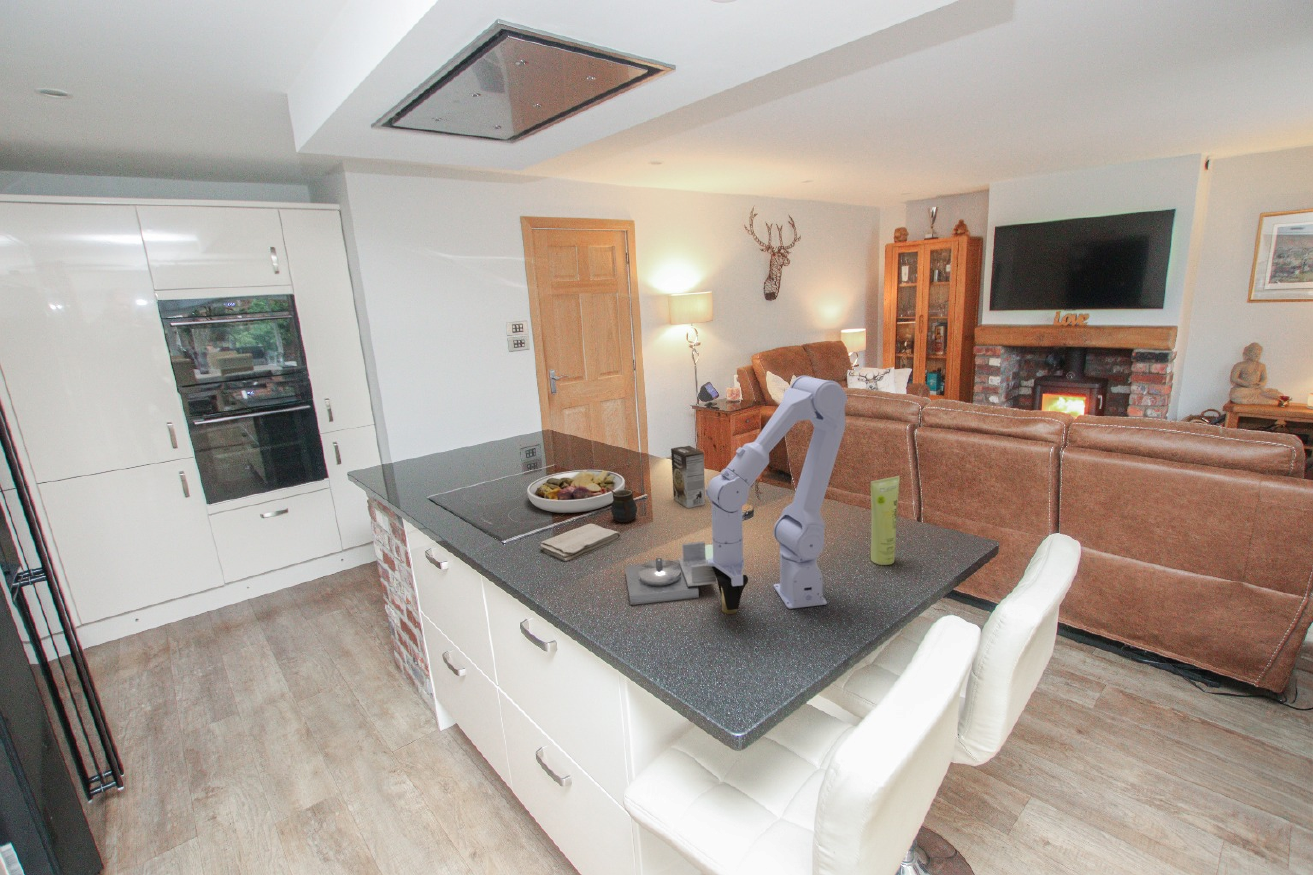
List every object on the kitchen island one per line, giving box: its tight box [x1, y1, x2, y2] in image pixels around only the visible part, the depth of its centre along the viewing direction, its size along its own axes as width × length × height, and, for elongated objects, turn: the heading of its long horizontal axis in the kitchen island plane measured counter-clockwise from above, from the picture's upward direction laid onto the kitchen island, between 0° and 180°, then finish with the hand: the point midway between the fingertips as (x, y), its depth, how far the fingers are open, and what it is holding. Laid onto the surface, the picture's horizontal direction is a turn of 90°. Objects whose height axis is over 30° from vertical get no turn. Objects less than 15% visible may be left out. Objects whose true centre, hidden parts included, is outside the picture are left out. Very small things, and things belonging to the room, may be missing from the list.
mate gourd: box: [608, 488, 638, 523], centre depth 165 cm, size 7×8×10 cm
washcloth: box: [540, 523, 622, 562], centre depth 152 cm, size 12×18×3 cm, turn 136°
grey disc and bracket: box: [639, 540, 718, 587], centre depth 128 cm, size 16×12×4 cm
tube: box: [870, 475, 901, 566], centre depth 131 cm, size 6×5×20 cm
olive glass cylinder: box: [720, 587, 738, 615], centre depth 116 cm, size 3×3×6 cm
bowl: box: [526, 469, 626, 514], centre depth 185 cm, size 30×30×8 cm
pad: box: [705, 543, 713, 560], centre depth 142 cm, size 10×10×1 cm
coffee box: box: [670, 445, 706, 509], centre depth 175 cm, size 9×6×16 cm
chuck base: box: [624, 560, 700, 606], centre depth 128 cm, size 14×14×2 cm
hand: (729, 602), depth 117 cm, fingers open, 4 cm apart
